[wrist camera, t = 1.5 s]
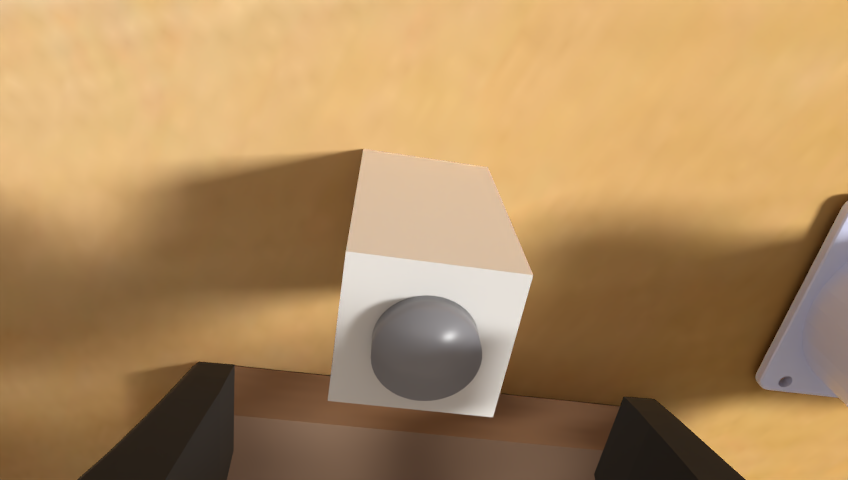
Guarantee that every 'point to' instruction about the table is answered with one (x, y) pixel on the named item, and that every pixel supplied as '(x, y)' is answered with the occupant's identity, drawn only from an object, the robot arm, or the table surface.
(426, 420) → the socket board
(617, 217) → the table surface
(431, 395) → the plug
